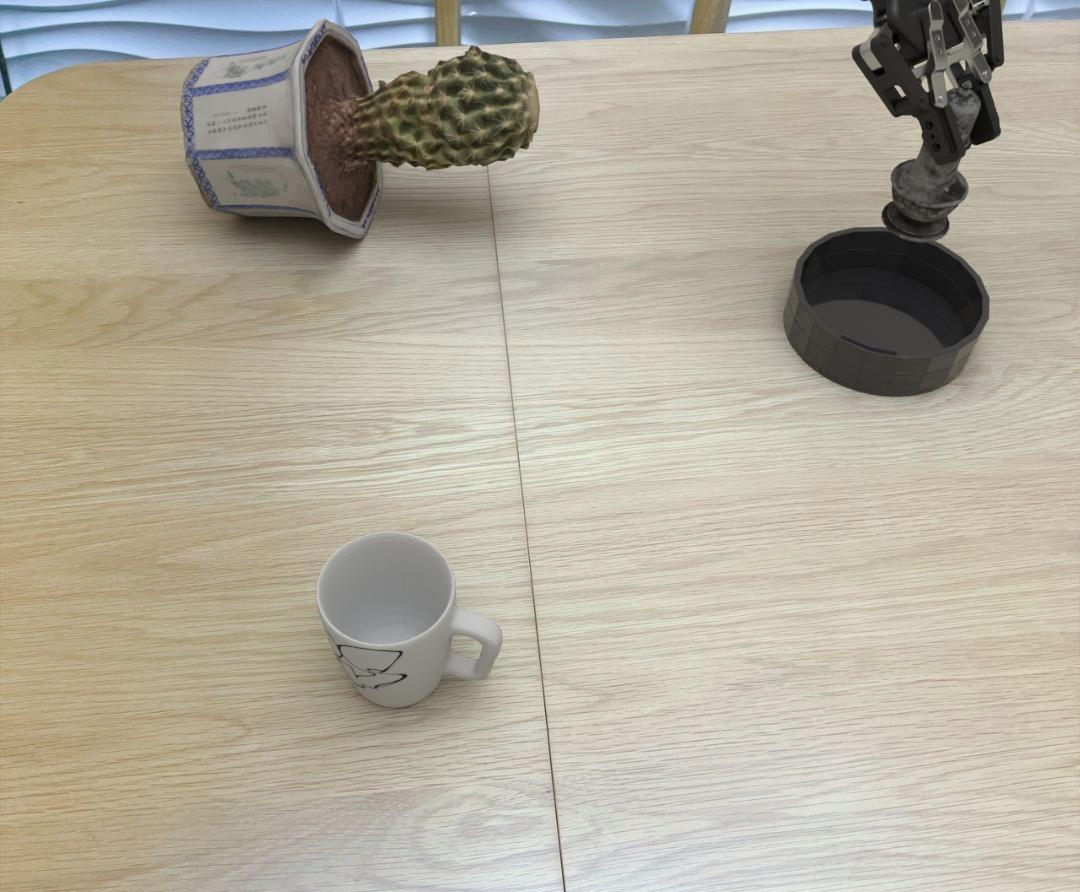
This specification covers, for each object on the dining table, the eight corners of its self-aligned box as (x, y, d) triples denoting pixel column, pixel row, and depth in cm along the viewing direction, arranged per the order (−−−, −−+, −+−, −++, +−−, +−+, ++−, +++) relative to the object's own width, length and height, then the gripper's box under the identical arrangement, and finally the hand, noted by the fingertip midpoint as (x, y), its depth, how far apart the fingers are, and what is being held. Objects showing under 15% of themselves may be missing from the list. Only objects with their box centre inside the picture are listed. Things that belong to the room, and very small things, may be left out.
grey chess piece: (874, 193, 88) (922, 53, 78) (948, 200, 88) (1005, 60, 78) (880, 241, 84) (931, 100, 75) (957, 248, 84) (1018, 108, 74)
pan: (865, 243, 102) (879, 203, 98) (1008, 340, 95) (1029, 301, 91) (744, 316, 96) (754, 276, 92) (888, 426, 88) (904, 387, 85)
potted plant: (130, 112, 86) (499, 57, 79) (200, 5, 97) (528, -51, 90) (224, 291, 99) (547, 258, 92) (276, 179, 110) (567, 141, 103)
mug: (516, 638, 76) (518, 555, 68) (485, 747, 71) (483, 672, 63) (358, 604, 77) (342, 518, 69) (316, 708, 72) (294, 630, 64)
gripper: (862, -89, 68) (950, 174, 73) (999, -147, 74) (1073, 101, 79) (782, -38, 75) (867, 200, 80) (913, -95, 81) (986, 131, 85)
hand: (969, 149), depth 79 cm, fingers closed on grey chess piece, 3 cm apart
